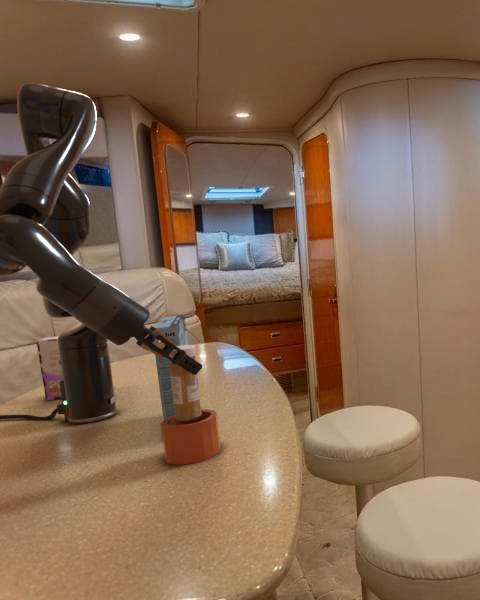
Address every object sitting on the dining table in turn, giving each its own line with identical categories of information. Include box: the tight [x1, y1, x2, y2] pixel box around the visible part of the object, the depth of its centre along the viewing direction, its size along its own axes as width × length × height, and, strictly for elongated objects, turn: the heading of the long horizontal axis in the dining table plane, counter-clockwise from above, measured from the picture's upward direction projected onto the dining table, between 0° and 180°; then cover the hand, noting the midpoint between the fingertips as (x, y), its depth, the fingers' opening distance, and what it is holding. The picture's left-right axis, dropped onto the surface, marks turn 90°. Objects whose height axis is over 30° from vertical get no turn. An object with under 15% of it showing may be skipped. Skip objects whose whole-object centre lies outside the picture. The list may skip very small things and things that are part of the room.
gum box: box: [153, 314, 189, 420], centre depth 111 cm, size 20×5×23 cm, turn 23°
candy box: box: [35, 335, 63, 401], centre depth 138 cm, size 14×6×16 cm, turn 108°
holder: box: [160, 408, 221, 465], centre depth 95 cm, size 9×9×7 cm
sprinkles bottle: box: [169, 344, 202, 421], centre depth 94 cm, size 5×5×14 cm
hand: (194, 367), depth 94 cm, fingers closed on sprinkles bottle, 4 cm apart
